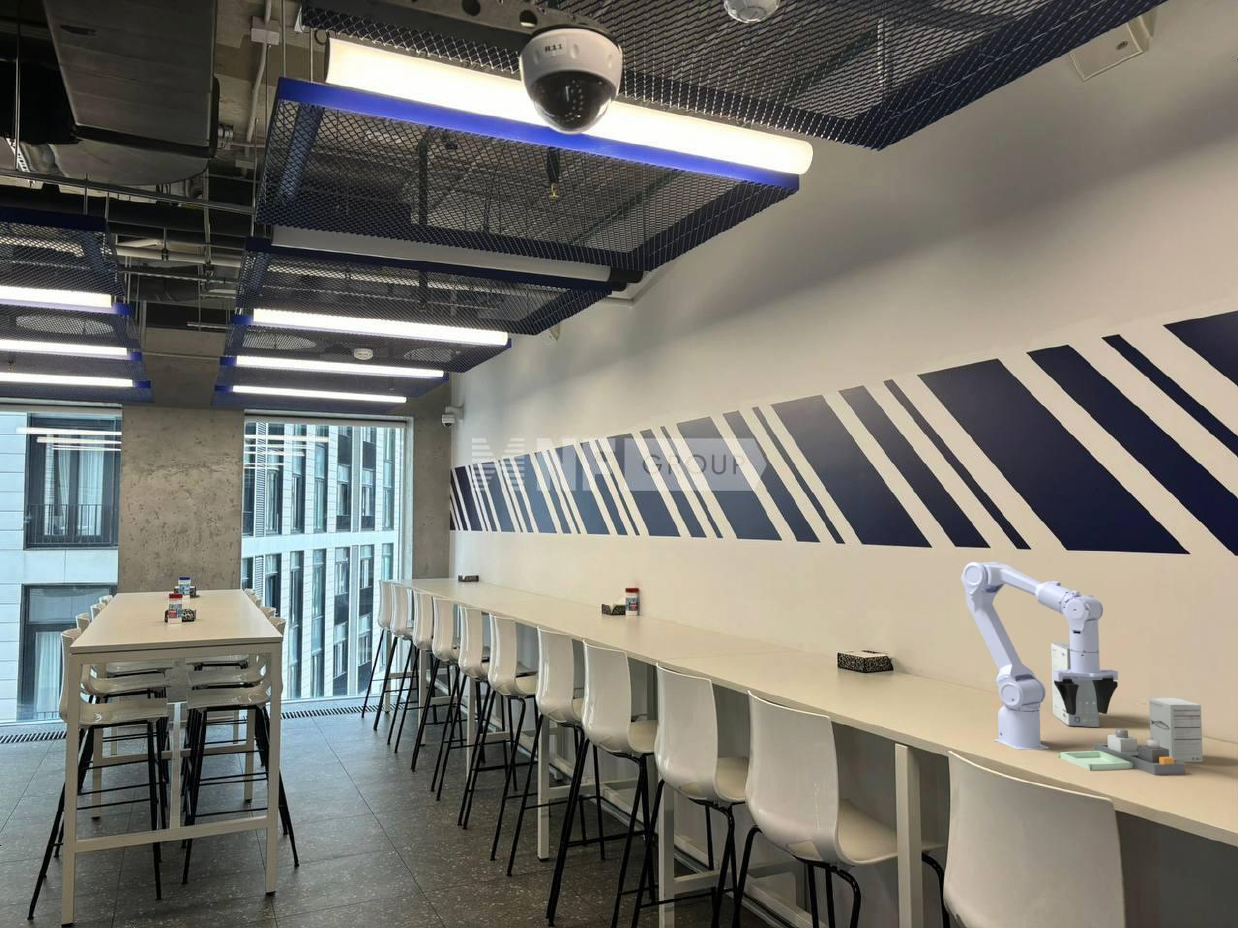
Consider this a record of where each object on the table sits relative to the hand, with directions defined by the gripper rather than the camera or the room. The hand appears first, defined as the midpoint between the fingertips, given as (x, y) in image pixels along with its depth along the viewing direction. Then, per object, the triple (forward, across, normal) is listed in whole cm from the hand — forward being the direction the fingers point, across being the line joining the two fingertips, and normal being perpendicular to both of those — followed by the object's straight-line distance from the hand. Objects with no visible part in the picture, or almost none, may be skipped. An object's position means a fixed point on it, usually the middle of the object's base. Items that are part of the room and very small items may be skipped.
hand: (1086, 713), depth 194 cm
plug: (+10, +9, -8) cm, 16 cm away
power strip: (+10, +9, -4) cm, 14 cm away
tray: (+10, -1, -3) cm, 11 cm away
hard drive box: (+10, +24, +38) cm, 46 cm away
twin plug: (+10, +9, +1) cm, 14 cm away
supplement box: (+11, +22, 0) cm, 24 cm away
